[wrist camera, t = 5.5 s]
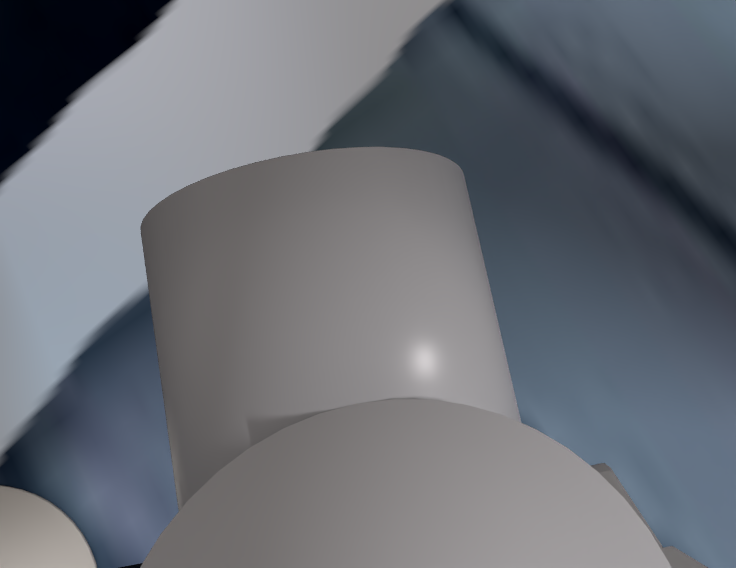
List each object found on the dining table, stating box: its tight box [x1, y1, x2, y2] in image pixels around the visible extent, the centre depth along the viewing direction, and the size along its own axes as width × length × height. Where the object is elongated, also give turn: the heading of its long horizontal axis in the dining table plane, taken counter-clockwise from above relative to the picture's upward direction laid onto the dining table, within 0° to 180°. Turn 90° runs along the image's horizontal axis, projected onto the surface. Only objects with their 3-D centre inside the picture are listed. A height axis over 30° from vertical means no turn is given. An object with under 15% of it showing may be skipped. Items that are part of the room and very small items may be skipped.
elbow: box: [140, 147, 671, 568], centre depth 11 cm, size 8×6×11 cm
